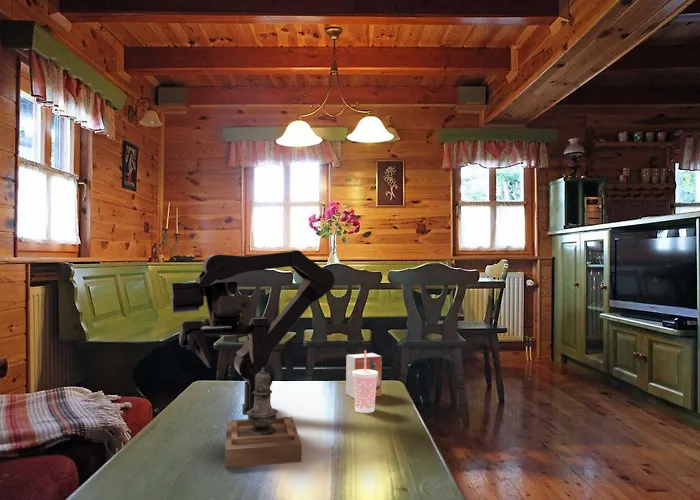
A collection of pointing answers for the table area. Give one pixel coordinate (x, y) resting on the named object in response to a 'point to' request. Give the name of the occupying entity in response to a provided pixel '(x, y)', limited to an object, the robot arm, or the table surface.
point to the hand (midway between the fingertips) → (232, 364)
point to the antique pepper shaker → (262, 407)
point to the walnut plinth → (262, 444)
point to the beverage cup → (365, 388)
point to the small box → (358, 363)
